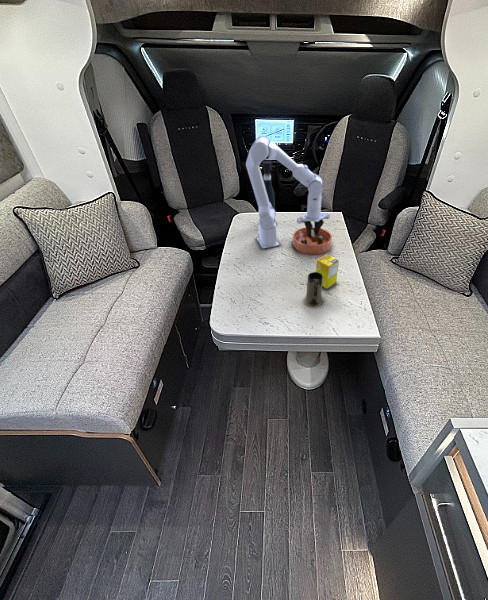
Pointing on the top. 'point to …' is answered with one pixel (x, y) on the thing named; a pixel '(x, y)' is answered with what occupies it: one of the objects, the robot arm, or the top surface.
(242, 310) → the top surface
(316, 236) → the brown wooden block
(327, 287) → the supplement box
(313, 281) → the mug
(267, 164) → the wine bottle
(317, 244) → the bowl
